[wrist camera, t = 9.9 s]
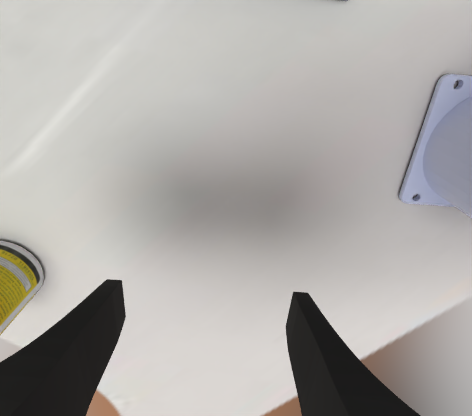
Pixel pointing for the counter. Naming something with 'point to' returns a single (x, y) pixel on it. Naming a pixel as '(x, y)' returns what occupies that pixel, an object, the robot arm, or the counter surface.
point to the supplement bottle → (16, 281)
